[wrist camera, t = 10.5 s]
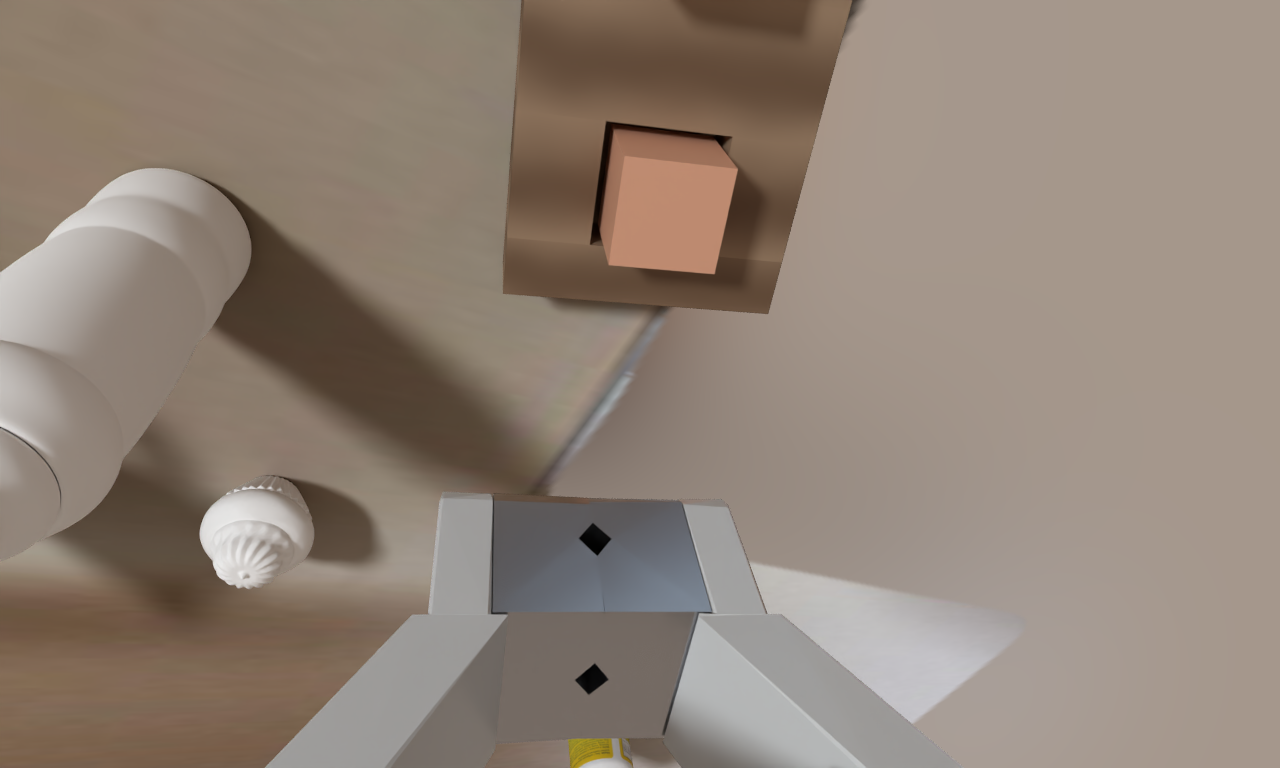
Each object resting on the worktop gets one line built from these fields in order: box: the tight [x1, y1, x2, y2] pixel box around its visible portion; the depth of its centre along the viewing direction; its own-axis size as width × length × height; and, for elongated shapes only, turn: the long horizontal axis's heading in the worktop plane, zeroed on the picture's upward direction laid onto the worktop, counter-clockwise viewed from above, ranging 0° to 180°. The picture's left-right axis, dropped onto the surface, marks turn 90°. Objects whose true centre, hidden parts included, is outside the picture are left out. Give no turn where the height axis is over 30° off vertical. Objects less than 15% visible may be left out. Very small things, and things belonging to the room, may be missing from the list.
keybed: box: [503, 0, 852, 314], centre depth 37 cm, size 24×14×4 cm, turn 171°
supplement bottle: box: [568, 738, 633, 768], centre depth 62 cm, size 5×5×8 cm
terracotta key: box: [598, 124, 738, 274], centre depth 37 cm, size 5×5×5 cm
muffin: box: [200, 475, 314, 589], centre depth 46 cm, size 6×6×7 cm
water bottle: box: [0, 168, 251, 561], centre depth 30 cm, size 7×7×25 cm
